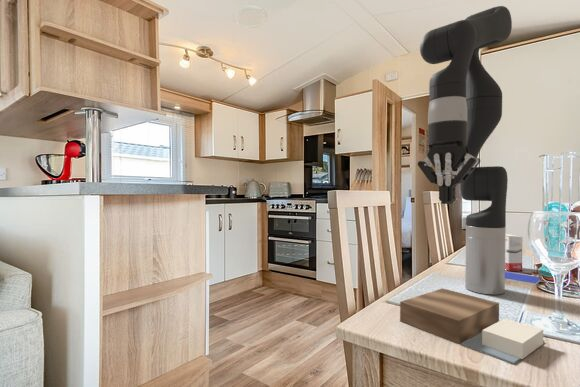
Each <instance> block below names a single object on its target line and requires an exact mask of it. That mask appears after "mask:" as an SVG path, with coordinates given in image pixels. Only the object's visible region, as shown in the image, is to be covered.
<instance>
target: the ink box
mask: <svg viewBox="0 0 580 387" xmlns="http://www.w3.org/2000/svg"><path fill="white" fill-rule="evenodd" d="M505 239H506V241H505V269H506V270H505V271H507V270H508V271H507V272H521V271H520V270H522V271H523V236H519V235H515V234H510V233H506V236H505Z"/></svg>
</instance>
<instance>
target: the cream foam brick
mask: <svg viewBox="0 0 580 387" xmlns="http://www.w3.org/2000/svg"><path fill="white" fill-rule="evenodd" d="M543 340H544V329H543V328H539V327H536V326H533V325H529V324H525V323H522V322H520V321H519V322H518V321H514V320H513V319H512V320H511V319H508V318H503V319H501V320H499V322H497V323H495V324H493V325H491V326H489V327H487V328H485V329H483V330H482V345H485V346H488V347H490V348H493V349H496V350H499V351H501V352H504V353H507V354H510V355H512V356H515V357H518V358H521V360H524V358H526V357H527V356H529V355H530V354H531V353H533V352H534V351H535V350H537V349H538V348H540V347H541V346H542V345H543V344H544V343H543Z"/></svg>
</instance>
